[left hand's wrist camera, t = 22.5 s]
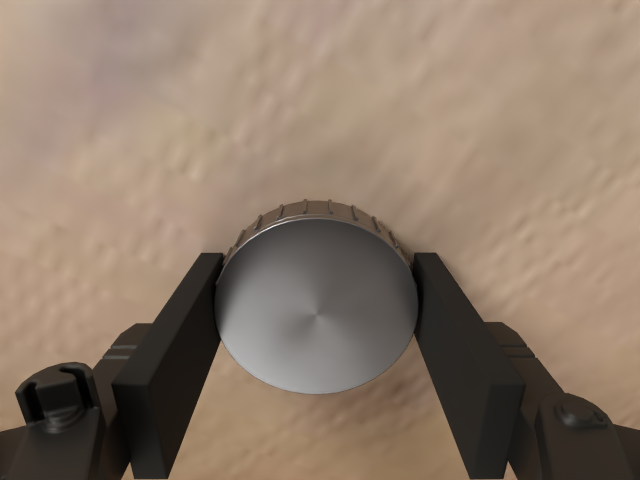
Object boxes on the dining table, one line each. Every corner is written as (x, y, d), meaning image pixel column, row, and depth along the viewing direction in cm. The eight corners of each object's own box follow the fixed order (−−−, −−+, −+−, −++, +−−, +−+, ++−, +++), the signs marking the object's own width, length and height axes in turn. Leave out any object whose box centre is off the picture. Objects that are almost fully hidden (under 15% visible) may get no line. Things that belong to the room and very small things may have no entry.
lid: (428, 211, 13) (444, 230, 12) (388, 371, 16) (396, 405, 14) (228, 185, 13) (215, 201, 11) (219, 353, 16) (207, 386, 14)
